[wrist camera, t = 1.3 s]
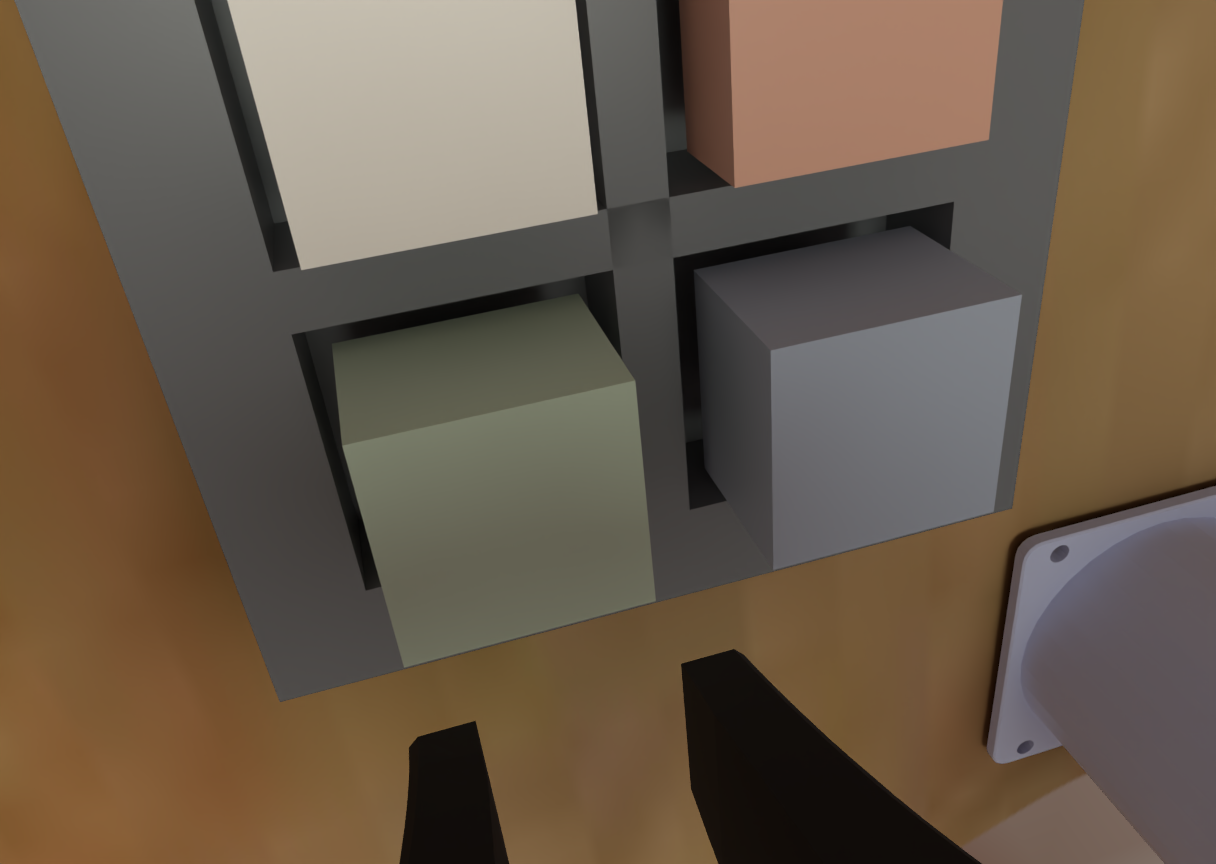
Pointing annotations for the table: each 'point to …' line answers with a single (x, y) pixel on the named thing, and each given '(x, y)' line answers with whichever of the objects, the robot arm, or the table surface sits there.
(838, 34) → the key terracotta
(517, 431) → the key sage
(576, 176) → the key cream
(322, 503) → the keypad bezel
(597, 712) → the table surface
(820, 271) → the key slate
